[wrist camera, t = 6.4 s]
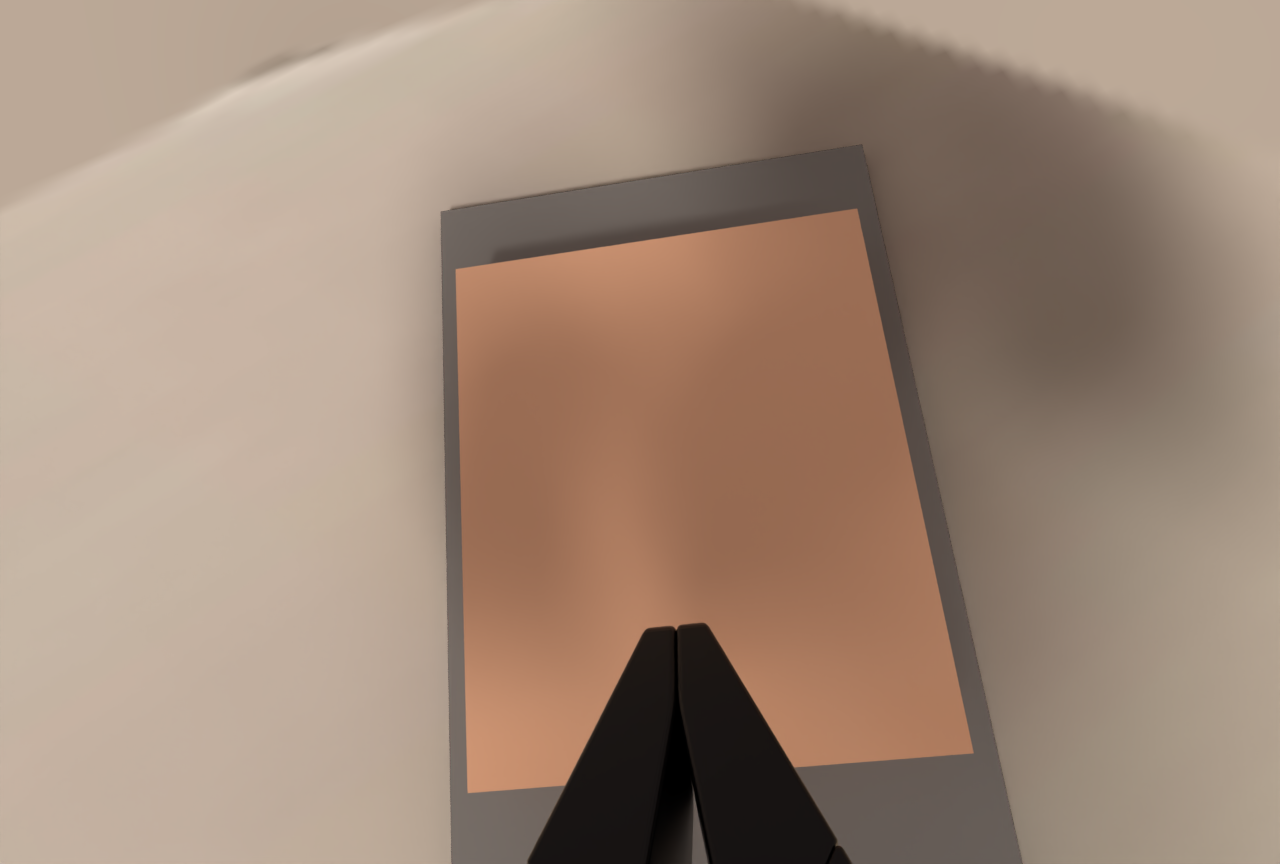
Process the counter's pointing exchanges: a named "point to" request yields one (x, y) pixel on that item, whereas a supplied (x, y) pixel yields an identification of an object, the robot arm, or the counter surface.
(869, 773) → the rubber mat
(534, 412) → the ceramic tile
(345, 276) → the counter surface
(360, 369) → the counter surface
